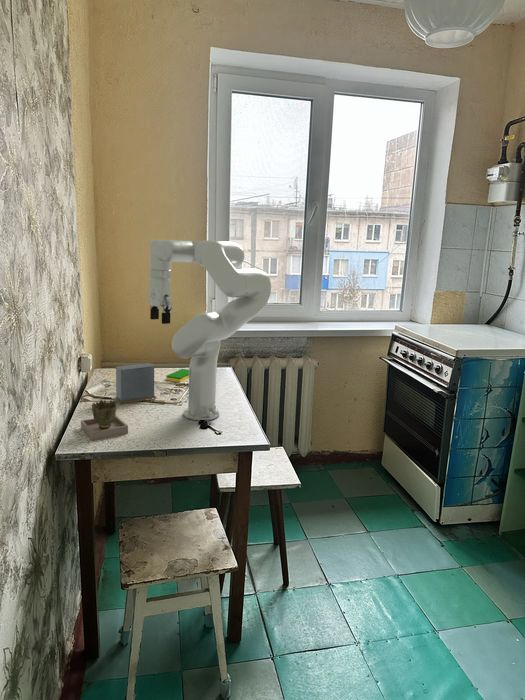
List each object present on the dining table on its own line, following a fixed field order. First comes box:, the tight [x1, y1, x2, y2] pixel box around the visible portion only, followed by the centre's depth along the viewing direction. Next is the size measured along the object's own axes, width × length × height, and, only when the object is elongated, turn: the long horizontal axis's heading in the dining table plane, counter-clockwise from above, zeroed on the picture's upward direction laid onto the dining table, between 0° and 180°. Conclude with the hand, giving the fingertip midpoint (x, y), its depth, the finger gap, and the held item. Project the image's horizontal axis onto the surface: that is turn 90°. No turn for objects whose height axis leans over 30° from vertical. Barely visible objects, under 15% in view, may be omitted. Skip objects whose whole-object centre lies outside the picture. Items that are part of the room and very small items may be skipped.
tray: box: [80, 414, 129, 441], centre depth 153 cm, size 11×11×2 cm
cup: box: [91, 399, 118, 429], centre depth 152 cm, size 8×7×8 cm
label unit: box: [114, 362, 157, 405], centre depth 182 cm, size 6×14×13 cm, turn 126°
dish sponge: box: [165, 368, 189, 383], centre depth 216 cm, size 7×14×2 cm, turn 158°
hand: (160, 321), depth 179 cm, fingers open, 9 cm apart
